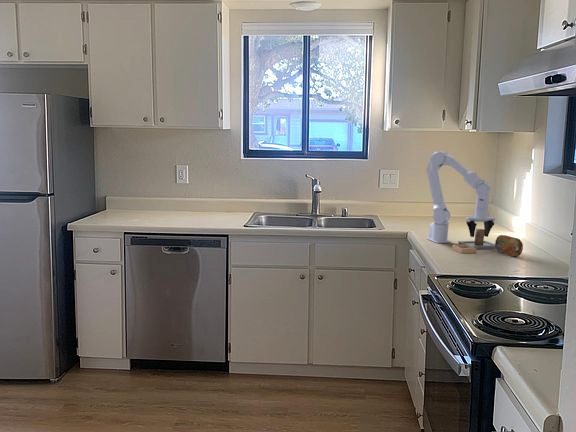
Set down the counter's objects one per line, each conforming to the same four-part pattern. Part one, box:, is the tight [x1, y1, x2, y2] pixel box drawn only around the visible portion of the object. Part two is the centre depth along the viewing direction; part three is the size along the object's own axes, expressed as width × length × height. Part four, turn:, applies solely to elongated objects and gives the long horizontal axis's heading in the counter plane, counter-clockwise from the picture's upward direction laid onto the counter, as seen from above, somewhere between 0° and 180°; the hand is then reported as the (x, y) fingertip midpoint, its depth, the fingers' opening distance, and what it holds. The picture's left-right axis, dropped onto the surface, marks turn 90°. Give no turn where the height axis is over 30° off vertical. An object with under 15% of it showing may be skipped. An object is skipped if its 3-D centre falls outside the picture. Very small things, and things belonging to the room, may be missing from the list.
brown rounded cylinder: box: [474, 228, 485, 246], centre depth 271 cm, size 4×4×8 cm
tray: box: [457, 240, 496, 250], centre depth 272 cm, size 11×15×2 cm
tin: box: [494, 234, 524, 257], centre depth 256 cm, size 15×3×8 cm, turn 21°
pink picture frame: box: [451, 244, 477, 254], centre depth 260 cm, size 8×8×2 cm
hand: (479, 236), depth 271 cm, fingers open, 7 cm apart
